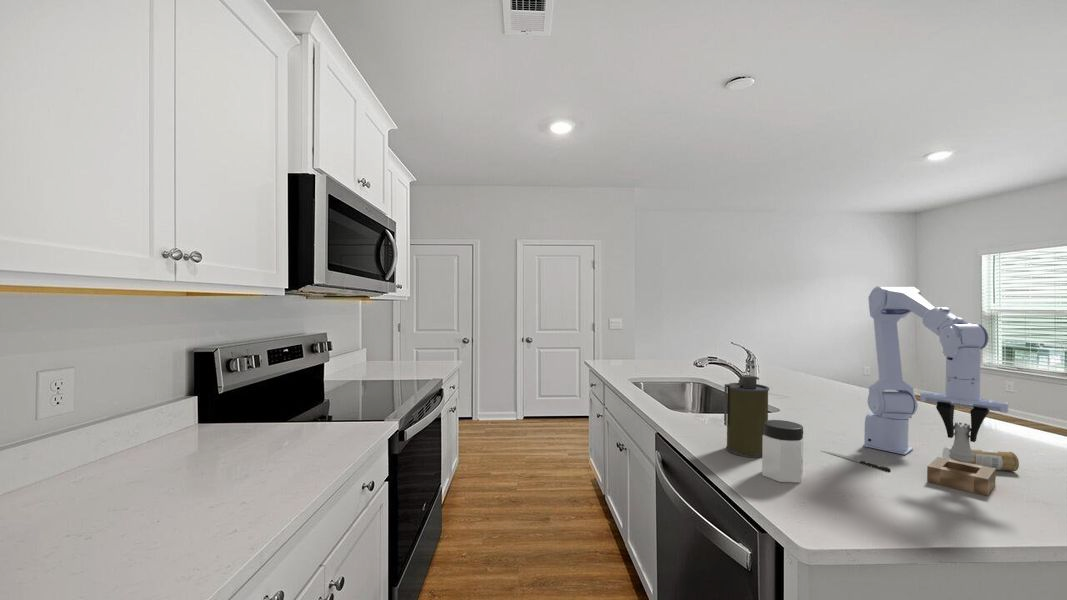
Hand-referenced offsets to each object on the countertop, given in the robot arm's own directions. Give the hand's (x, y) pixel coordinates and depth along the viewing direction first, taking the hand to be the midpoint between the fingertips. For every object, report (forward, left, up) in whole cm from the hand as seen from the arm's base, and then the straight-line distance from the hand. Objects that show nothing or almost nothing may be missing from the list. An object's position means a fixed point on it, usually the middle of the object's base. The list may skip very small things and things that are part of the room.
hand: (961, 438), depth 108 cm
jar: (-27, -27, -10) cm, 39 cm away
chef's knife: (-21, -1, -10) cm, 23 cm away
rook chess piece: (0, 0, -5) cm, 5 cm away
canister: (-41, -16, -10) cm, 45 cm away
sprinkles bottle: (+7, +20, -8) cm, 22 cm away
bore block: (0, 0, -10) cm, 10 cm away
